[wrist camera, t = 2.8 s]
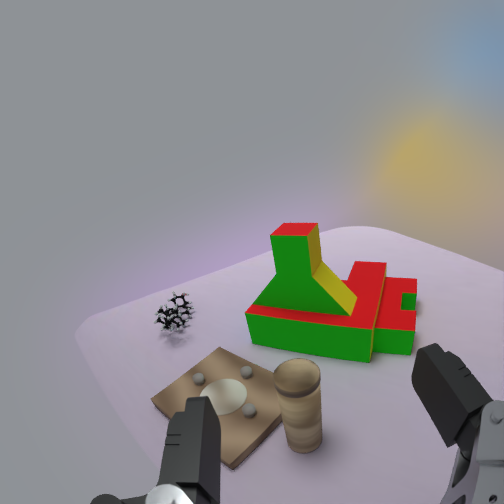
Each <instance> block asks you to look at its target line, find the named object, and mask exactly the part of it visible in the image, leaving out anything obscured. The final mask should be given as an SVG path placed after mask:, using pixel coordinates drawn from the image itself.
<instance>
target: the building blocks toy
mask: <svg viewBox="0 0 504 504" xmlns="http://www.w3.org/2000/svg"><path fill="white" fill-rule="evenodd" d="M270 239H271V244H272V250H273V256H274V262H275V268H276V273H277V274H276V275H275V276H274V278H273V279H272V280H271V281H270V283H269V284H268V285H267V286H266V288H265V289H264V290H263V291H262V293H261V294H260V295H259V296H258V298H257V299H256V300H255V301H254V303H253V304H252V305H251V306H250V307H249V308H248V310H247V311H246V312H245V315H246V320H247V324H248V328H249V332H250V335H251V339H252V343H253V344H258V345H262V346H267V347H272V348H277V349H283V350H288V351H293V352H299V353H305V354H311V355H317V356H323V357H330V358H336V359H343V360H351V361H358V362H366V363H369V362H370V359H371V355H372V352H380V353H390V354H401V355H411V350H412V345H413V340H414V334H415V325H416V311H415V304H416V296H417V279H411V278H392V277H386V264H387V263H382V262H361V261H355V262H354V265H353V267H352V270H351V273H350V275H349V277H348V280H340V279H339V278H338V277H337V276H336V275H335V274H334V273H333V272H332V271H331V270H330V269H329V267H328V266H327V265H326V264H325V263H324V262H323V261H322V257H321V247H320V238H319V229H318V223H283V224H282V225H281V226H280V227H279V228H278V229H276V230H275V231H274V232H273V233H272V234H271V235H270Z"/></svg>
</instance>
